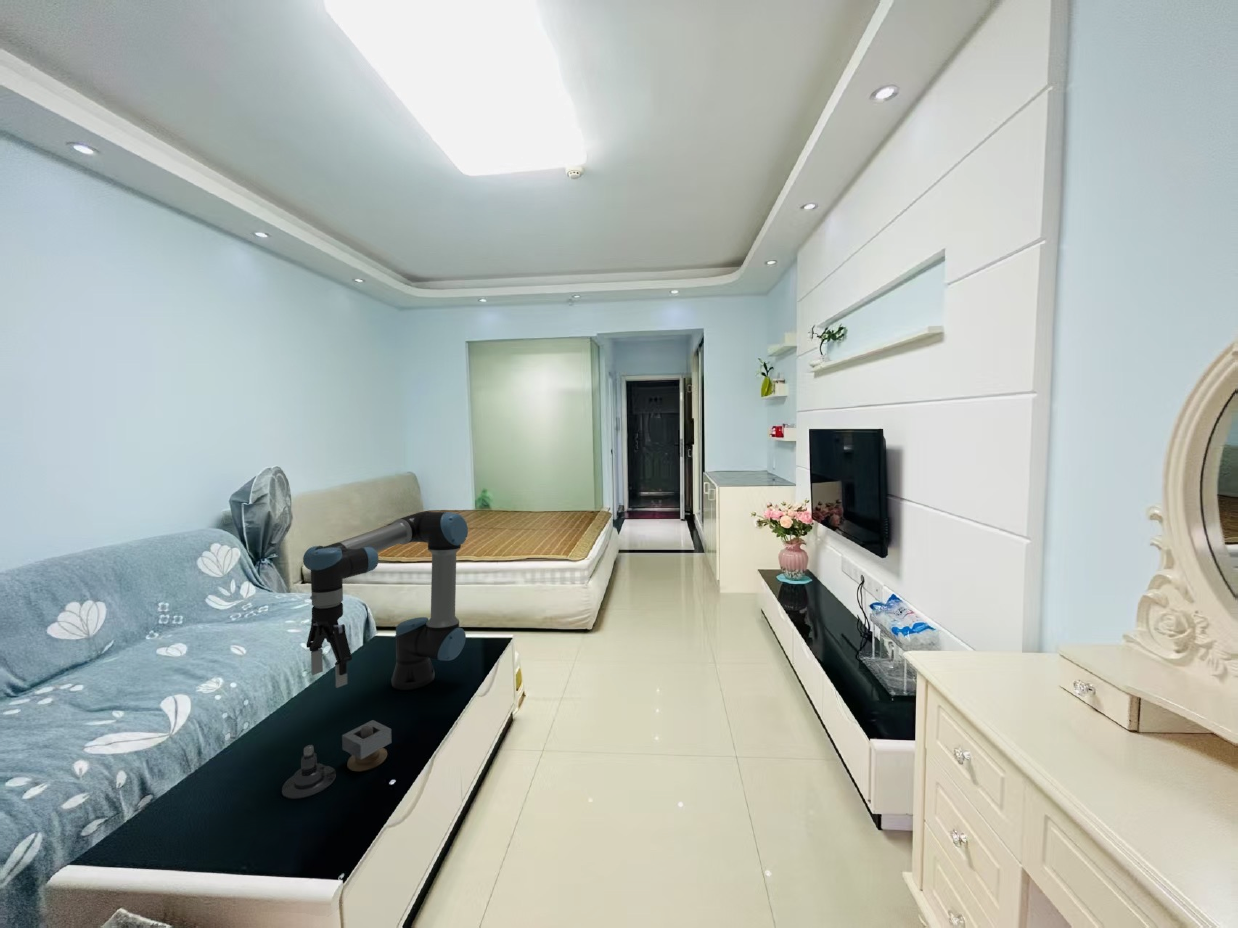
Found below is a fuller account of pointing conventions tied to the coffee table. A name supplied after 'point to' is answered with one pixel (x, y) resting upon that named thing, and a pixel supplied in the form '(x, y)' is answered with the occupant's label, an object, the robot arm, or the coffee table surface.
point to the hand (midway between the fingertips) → (329, 679)
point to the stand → (370, 760)
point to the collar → (366, 740)
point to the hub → (308, 777)
